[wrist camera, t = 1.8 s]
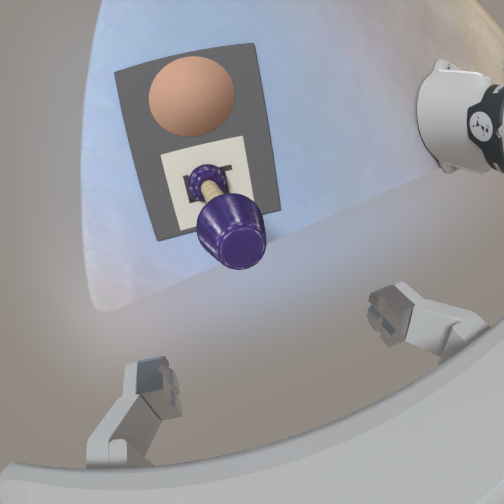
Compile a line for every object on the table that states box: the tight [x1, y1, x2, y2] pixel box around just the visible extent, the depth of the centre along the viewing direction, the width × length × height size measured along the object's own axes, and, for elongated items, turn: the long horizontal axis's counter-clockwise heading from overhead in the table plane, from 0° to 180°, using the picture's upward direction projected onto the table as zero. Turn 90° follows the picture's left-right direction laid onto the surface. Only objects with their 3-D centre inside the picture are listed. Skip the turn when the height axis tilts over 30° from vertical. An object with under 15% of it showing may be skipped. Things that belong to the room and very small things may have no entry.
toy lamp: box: [188, 164, 266, 270], centre depth 24 cm, size 5×5×17 cm
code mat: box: [114, 43, 281, 241], centre depth 29 cm, size 15×20×1 cm
